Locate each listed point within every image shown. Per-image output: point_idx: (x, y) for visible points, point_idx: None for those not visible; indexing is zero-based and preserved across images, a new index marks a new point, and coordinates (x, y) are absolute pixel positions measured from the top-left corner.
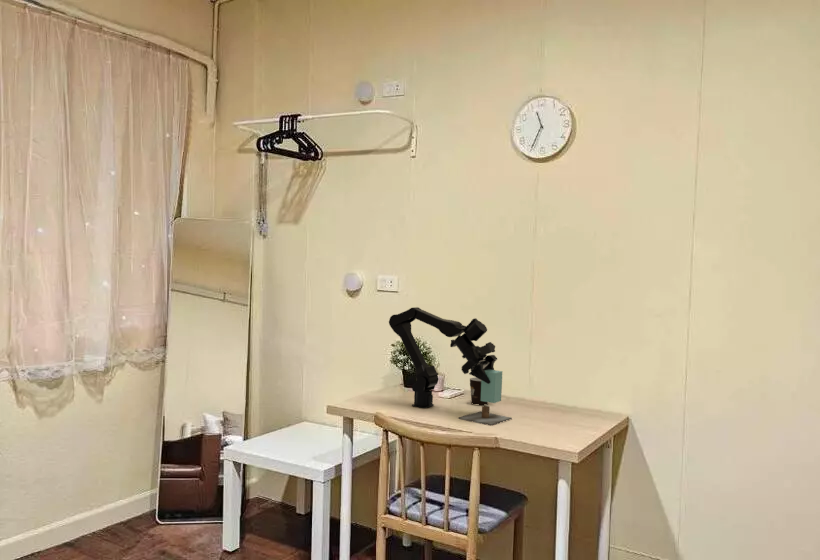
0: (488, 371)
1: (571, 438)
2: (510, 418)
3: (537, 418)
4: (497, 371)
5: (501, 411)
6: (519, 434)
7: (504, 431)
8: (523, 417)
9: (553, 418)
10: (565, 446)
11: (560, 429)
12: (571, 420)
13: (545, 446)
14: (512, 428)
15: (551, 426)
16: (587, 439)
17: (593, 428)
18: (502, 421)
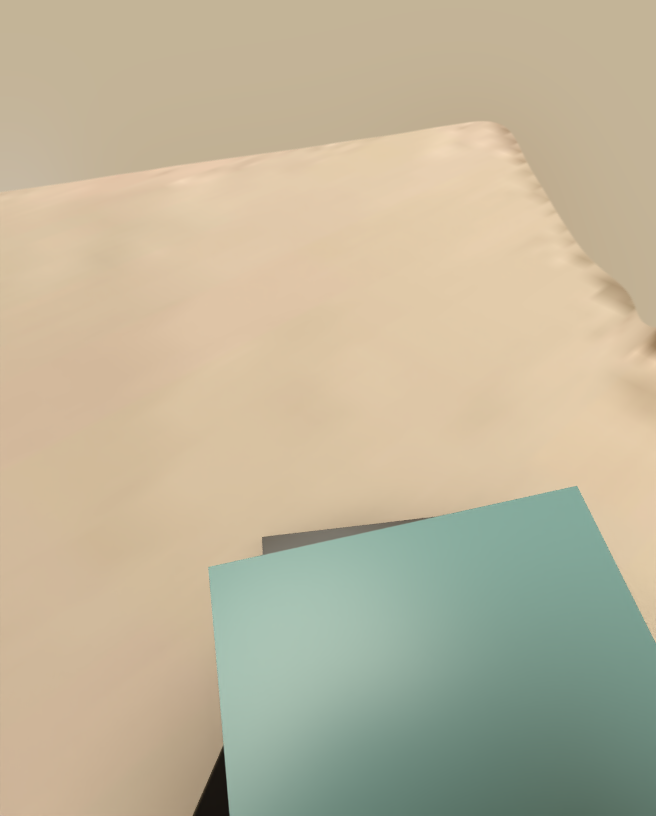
0: (626, 798)
1: (353, 185)
2: (281, 535)
3: (105, 454)
4: (350, 628)
5: (62, 806)
6: (506, 315)
7: (537, 385)
8: (145, 527)
9: (35, 399)
10: (469, 153)
11: (254, 265)
12: (19, 322)
13: (539, 183)
14: (449, 397)
15: (233, 313)
16: (314, 155)
17: (120, 206)
18: (387, 523)
